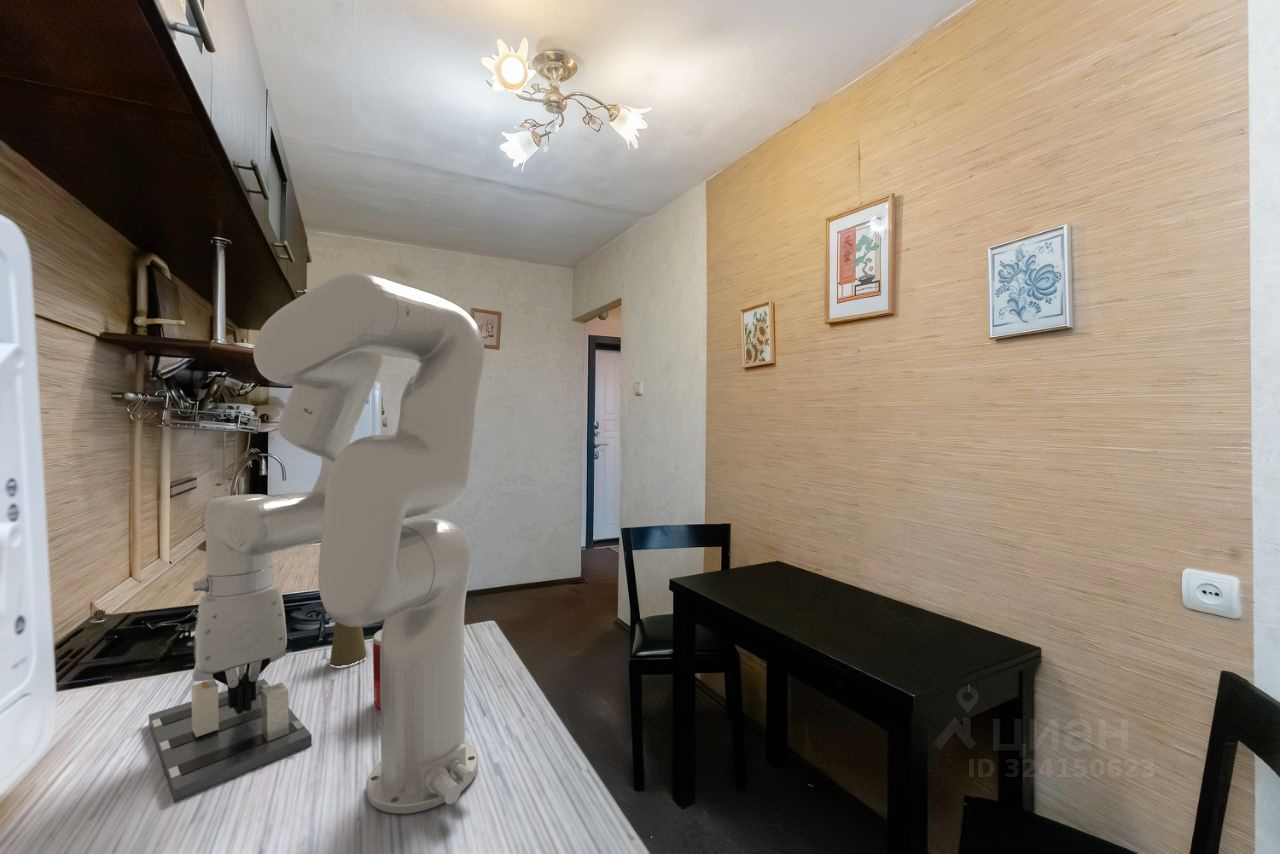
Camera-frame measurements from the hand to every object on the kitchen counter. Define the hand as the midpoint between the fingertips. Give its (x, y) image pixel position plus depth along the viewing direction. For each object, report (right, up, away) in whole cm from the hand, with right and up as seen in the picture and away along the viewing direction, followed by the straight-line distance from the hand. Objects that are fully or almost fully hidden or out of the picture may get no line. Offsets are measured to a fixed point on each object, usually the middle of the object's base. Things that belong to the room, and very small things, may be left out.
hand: (242, 708), depth 74 cm
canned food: (+20, -3, +7) cm, 21 cm away
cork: (+3, -3, +22) cm, 22 cm away
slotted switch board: (-1, -3, -1) cm, 3 cm away
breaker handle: (-3, -1, -3) cm, 4 cm away
